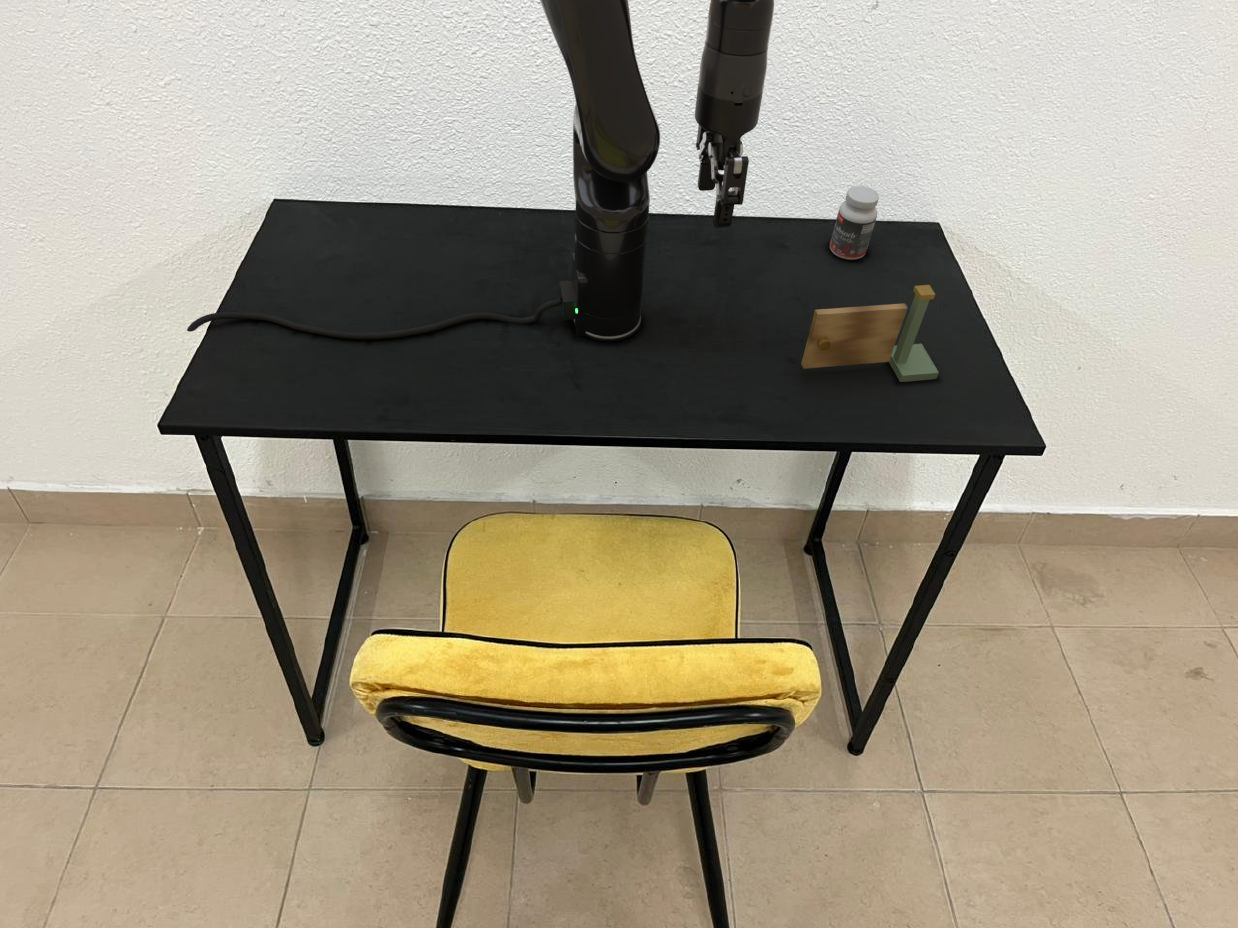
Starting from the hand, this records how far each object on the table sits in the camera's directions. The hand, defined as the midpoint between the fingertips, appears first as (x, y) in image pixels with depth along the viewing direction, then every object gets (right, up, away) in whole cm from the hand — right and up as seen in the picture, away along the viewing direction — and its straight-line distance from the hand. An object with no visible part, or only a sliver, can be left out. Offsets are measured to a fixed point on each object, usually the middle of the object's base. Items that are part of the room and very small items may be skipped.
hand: (713, 207), depth 117 cm
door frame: (+27, -20, +7) cm, 34 cm away
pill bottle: (+23, 0, +25) cm, 34 cm away
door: (+18, -20, +4) cm, 27 cm away
